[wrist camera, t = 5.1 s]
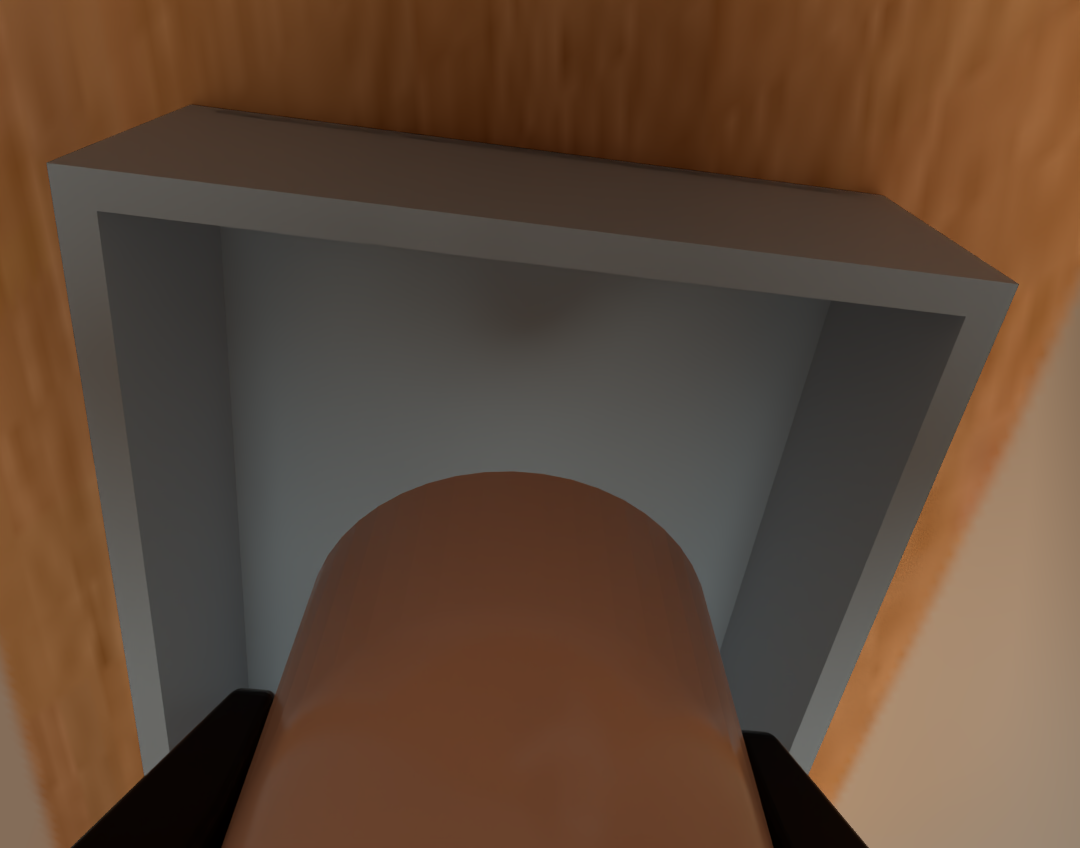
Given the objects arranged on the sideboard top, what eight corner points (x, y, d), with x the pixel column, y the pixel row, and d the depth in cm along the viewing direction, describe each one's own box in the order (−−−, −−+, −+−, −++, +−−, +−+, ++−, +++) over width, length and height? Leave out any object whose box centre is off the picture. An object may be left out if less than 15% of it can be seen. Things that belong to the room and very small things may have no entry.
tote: (701, 750, 25) (740, 932, 21) (235, 712, 25) (163, 893, 20) (883, 195, 17) (1018, 284, 12) (190, 104, 16) (46, 162, 11)
